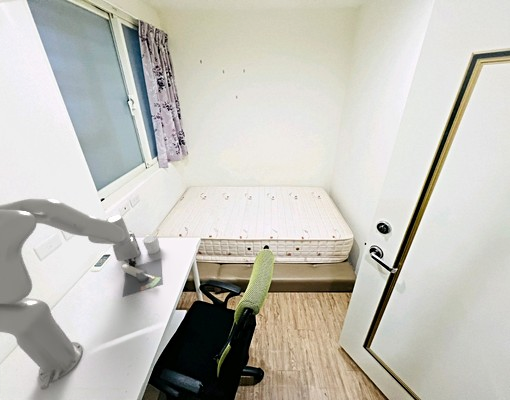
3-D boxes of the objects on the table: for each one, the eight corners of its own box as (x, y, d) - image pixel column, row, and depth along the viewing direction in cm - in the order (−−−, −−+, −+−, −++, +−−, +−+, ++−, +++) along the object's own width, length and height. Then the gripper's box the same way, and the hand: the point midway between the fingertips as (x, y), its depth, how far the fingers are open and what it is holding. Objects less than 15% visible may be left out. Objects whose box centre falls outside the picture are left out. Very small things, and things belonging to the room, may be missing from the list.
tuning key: (160, 280, 111) (158, 274, 109) (152, 287, 107) (150, 281, 105) (129, 267, 120) (127, 261, 118) (121, 273, 116) (118, 268, 114)
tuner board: (163, 286, 110) (162, 284, 109) (123, 299, 104) (122, 297, 103) (161, 260, 126) (161, 258, 125) (127, 269, 120) (126, 268, 120)
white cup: (163, 250, 133) (159, 237, 128) (150, 257, 128) (146, 244, 123) (157, 245, 138) (153, 232, 133) (145, 251, 133) (140, 238, 128)
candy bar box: (123, 253, 133) (114, 231, 125) (131, 248, 136) (123, 226, 128) (134, 259, 127) (125, 237, 119) (142, 254, 131) (134, 232, 123)
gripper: (103, 248, 104) (117, 275, 113) (137, 239, 108) (148, 266, 117) (106, 238, 110) (119, 265, 119) (138, 231, 114) (148, 257, 124)
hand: (133, 265), depth 118 cm, fingers closed
